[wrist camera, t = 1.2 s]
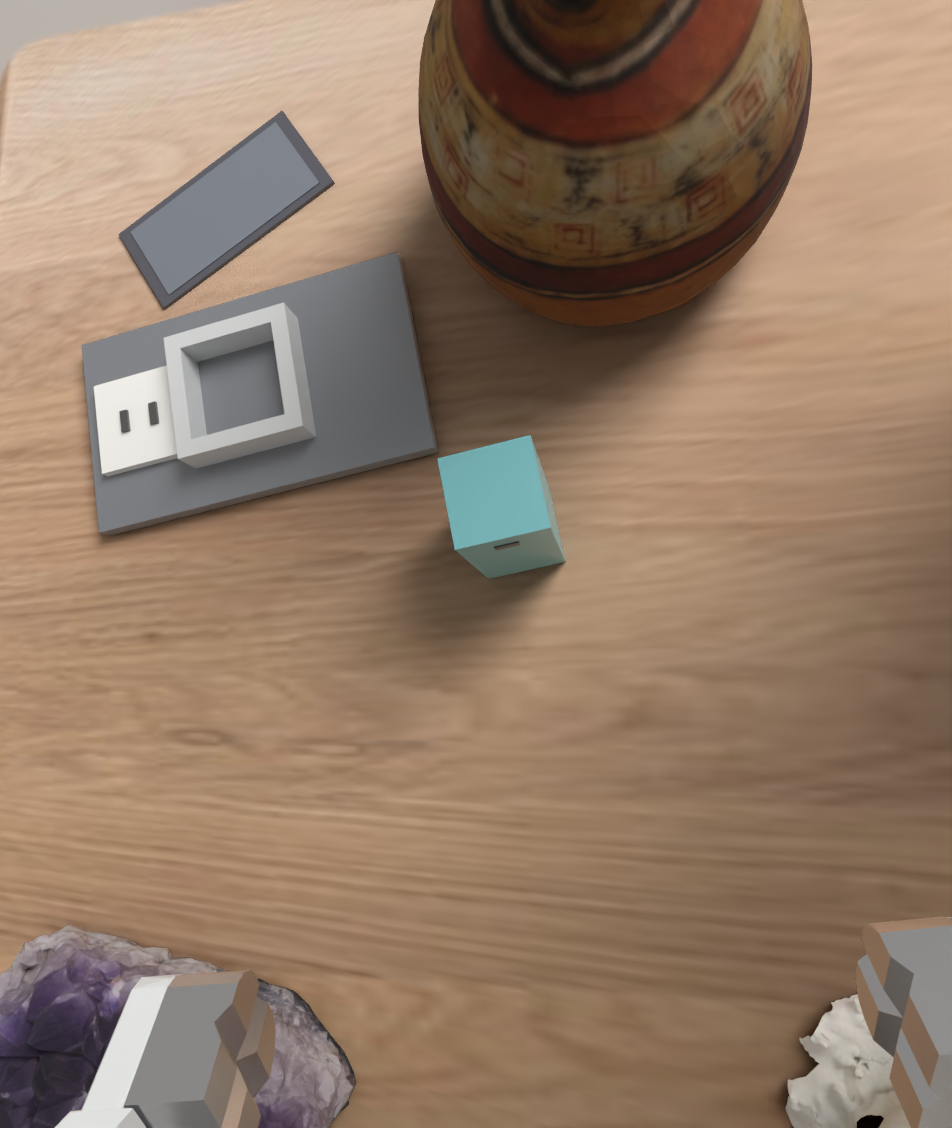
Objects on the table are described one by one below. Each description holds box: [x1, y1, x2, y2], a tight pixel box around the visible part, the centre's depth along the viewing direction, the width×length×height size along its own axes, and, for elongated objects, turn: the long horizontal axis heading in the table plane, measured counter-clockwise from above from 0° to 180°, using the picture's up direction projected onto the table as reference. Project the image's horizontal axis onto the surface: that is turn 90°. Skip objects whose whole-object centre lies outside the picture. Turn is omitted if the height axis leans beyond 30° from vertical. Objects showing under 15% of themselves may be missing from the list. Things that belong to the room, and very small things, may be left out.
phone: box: [119, 111, 335, 309], centre depth 52 cm, size 7×14×1 cm, turn 123°
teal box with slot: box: [437, 435, 566, 579], centre depth 40 cm, size 4×5×9 cm
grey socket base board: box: [82, 252, 439, 536], centre depth 47 cm, size 22×13×3 cm, turn 101°
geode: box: [0, 924, 356, 1128], centre depth 39 cm, size 20×12×10 cm, turn 84°
